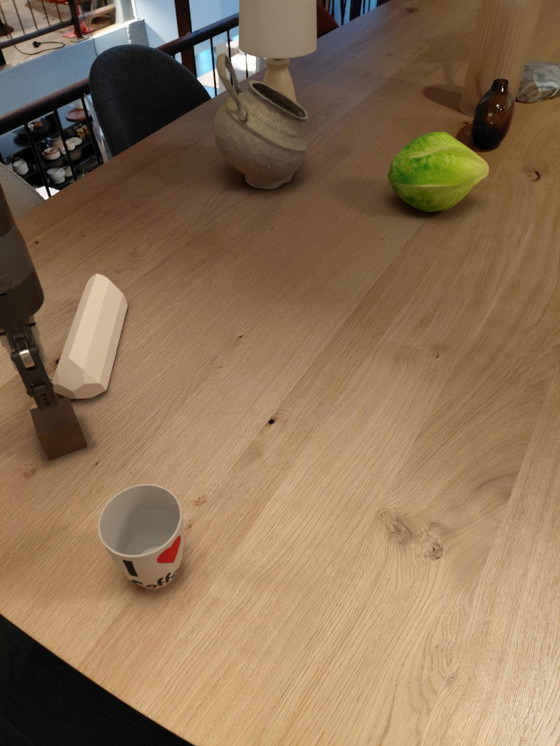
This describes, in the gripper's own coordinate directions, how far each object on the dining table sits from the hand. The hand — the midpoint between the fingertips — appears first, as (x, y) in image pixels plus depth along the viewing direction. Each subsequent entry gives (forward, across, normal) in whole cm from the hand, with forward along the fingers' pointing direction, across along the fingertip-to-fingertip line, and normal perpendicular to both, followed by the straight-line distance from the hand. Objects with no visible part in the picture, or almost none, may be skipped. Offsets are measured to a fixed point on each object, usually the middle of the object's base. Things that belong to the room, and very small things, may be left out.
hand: (41, 382), depth 67 cm
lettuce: (+12, -27, +83) cm, 88 cm away
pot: (+12, -55, +57) cm, 80 cm away
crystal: (+11, -16, +8) cm, 21 cm away
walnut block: (+11, 0, 0) cm, 11 cm away
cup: (+11, +23, +4) cm, 26 cm away
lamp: (+12, -78, +73) cm, 108 cm away
